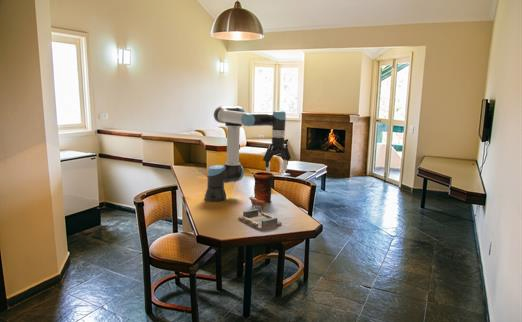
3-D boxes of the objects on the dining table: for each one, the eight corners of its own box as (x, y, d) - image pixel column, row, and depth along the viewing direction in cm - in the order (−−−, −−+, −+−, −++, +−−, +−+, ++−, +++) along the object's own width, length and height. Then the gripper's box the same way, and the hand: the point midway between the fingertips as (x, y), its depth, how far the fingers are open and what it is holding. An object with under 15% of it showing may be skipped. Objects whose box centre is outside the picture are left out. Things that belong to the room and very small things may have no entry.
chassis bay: (238, 219, 216) (238, 212, 215) (259, 214, 225) (259, 207, 225) (259, 230, 199) (260, 222, 199) (281, 225, 209) (282, 217, 208)
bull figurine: (250, 206, 240) (251, 195, 239) (266, 211, 232) (267, 199, 230) (246, 208, 237) (246, 196, 235) (262, 213, 229) (262, 200, 227)
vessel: (248, 199, 256) (249, 171, 253) (265, 197, 263) (267, 171, 259) (257, 205, 244) (259, 176, 240) (275, 203, 250) (277, 175, 247)
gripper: (265, 138, 206) (264, 174, 210) (297, 136, 221) (295, 170, 225) (257, 137, 212) (256, 172, 216) (289, 135, 227) (287, 168, 231)
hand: (276, 171), depth 220 cm, fingers open, 13 cm apart
